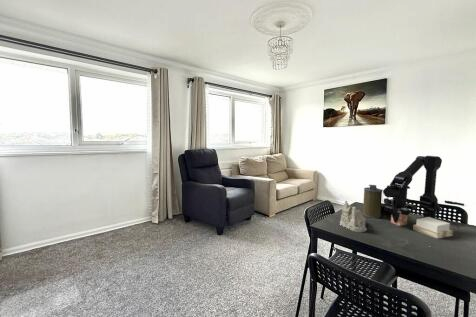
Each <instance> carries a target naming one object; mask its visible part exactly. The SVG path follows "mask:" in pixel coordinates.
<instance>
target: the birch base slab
mask: <svg viewBox="0 0 476 317" xmlns="http://www.w3.org/2000/svg"><path fill="white" fill-rule="evenodd" d="M412 226H413V228H412V230H414V231H416V232H418V233H420V234H423V235H427V236H428V237H431V238H435V239H442V238H443V239H444V238H447V237H452V236H454V229H451V228H449V230H446V231H441V232H434V231H431V230H429V229H426V228H423V227H420V226H417V225H416V224H413V225H412Z"/></svg>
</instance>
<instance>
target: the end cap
mask: <svg viewBox="0 0 476 317" xmlns="http://www.w3.org/2000/svg"><path fill="white" fill-rule="evenodd" d="M390 205H391V206H392V204H390ZM385 206H387V205H386V204H385V203H384V202H383V204H382V202H381V213H380V216H386V217H391V216H392V214H391V213H390V212H388V211H385V210H384V207H385ZM394 207H395V206H394Z"/></svg>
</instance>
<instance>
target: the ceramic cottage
mask: <svg viewBox="0 0 476 317" xmlns="http://www.w3.org/2000/svg"><path fill="white" fill-rule="evenodd" d="M362 213H363V212H362V211H361V210H360V209H357V207H355V206H352V205H350V204H349V202H348V201H347V200H344V203H343V206H342V207H341V215H340V221H339V223H340V224H339V225H340V226H341V225H342V226H343V228H344V227H346V228H345V229H347V228H348V229H347V230H349V229H350V231H352V232H354V233H355V232H356V233H364V232H366V231H367V230H368V228H367V227H366V224H367V223H366V221H367V220H366V218H365V216H364V215H363V214H362ZM342 226H341V227H342Z"/></svg>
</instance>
